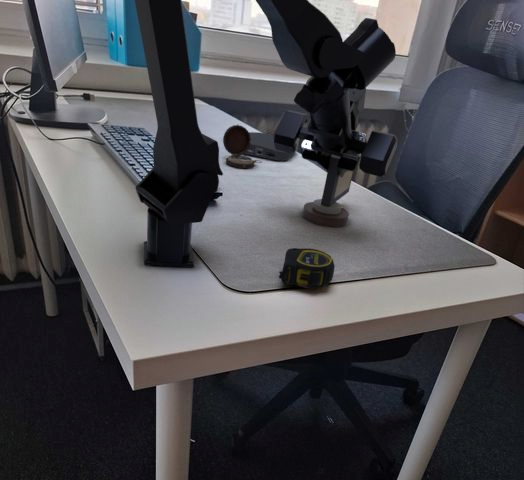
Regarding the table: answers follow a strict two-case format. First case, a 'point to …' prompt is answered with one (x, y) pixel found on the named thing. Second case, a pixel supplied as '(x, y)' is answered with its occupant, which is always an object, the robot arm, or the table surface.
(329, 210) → the frame
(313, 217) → the swivel stand
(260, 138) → the media streaming box
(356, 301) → the table surface
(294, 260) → the tape measure
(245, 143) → the compass
